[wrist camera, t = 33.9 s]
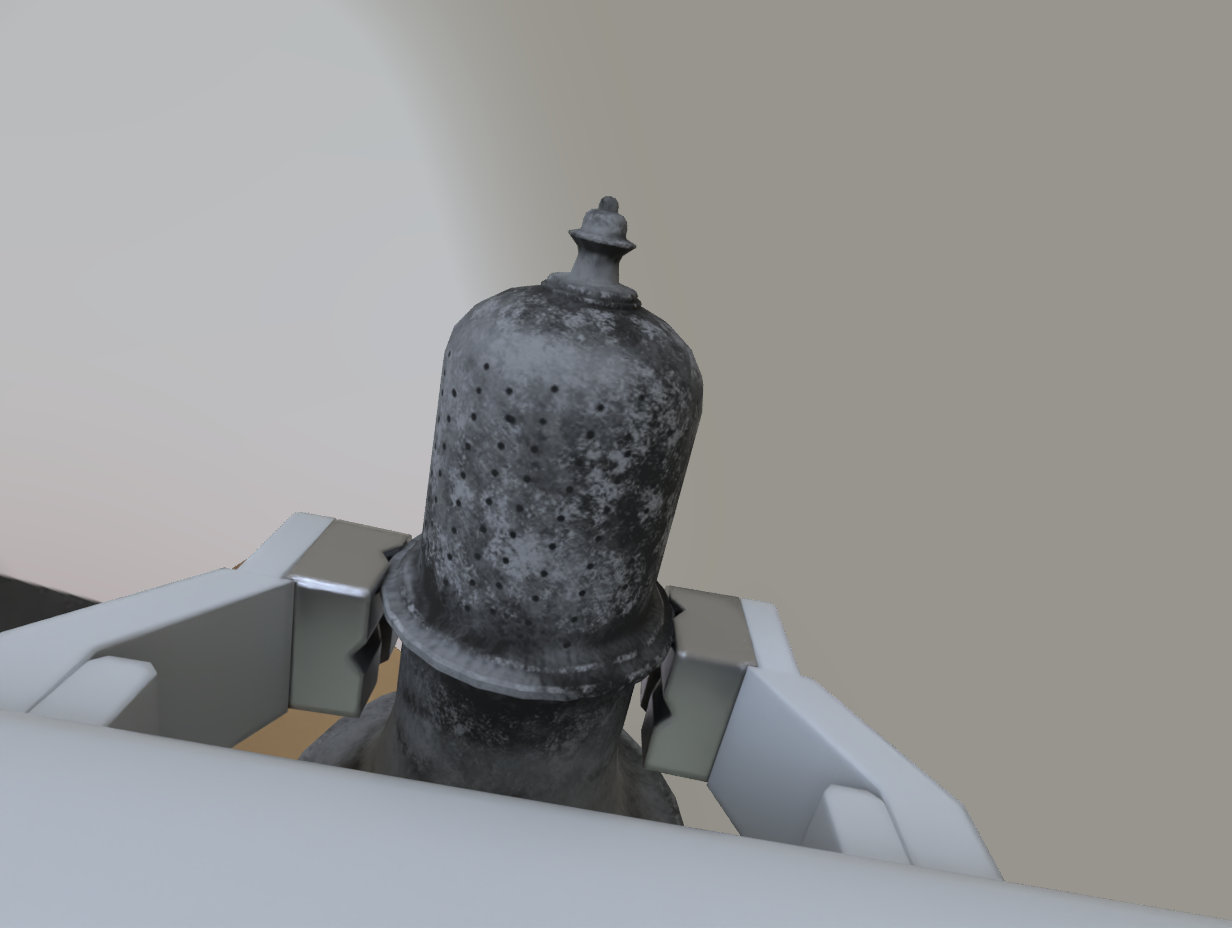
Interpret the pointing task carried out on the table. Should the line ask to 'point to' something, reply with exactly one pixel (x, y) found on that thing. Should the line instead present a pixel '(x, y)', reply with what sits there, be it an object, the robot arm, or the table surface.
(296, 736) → the bin lid
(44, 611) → the table surface
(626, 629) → the salt shaker
